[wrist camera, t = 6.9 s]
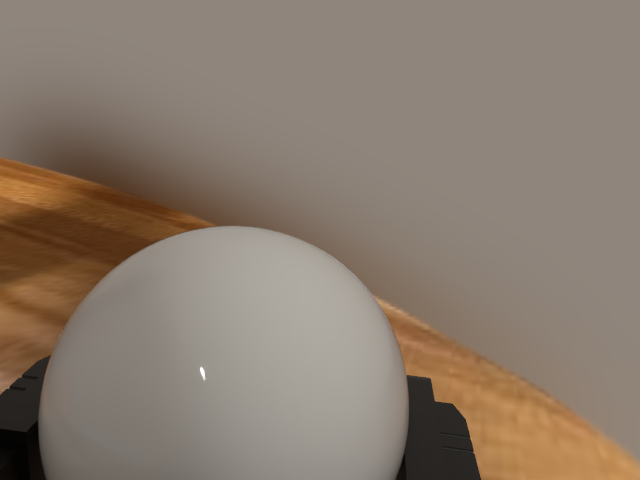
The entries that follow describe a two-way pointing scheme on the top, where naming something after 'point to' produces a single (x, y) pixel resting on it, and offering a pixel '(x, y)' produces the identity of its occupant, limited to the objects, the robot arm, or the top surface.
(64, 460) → the lightbulb
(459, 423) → the robot arm
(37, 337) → the top surface
